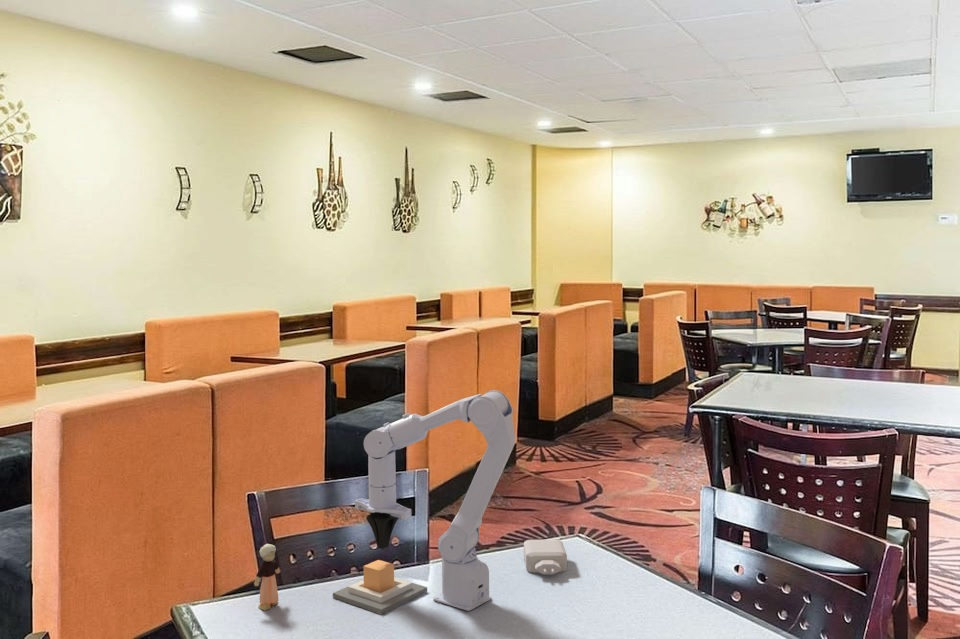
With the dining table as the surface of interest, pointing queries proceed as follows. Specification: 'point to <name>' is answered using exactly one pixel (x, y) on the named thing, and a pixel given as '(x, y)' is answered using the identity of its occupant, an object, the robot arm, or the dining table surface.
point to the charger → (545, 556)
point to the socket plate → (380, 595)
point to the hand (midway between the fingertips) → (383, 547)
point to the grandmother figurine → (267, 577)
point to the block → (379, 576)
